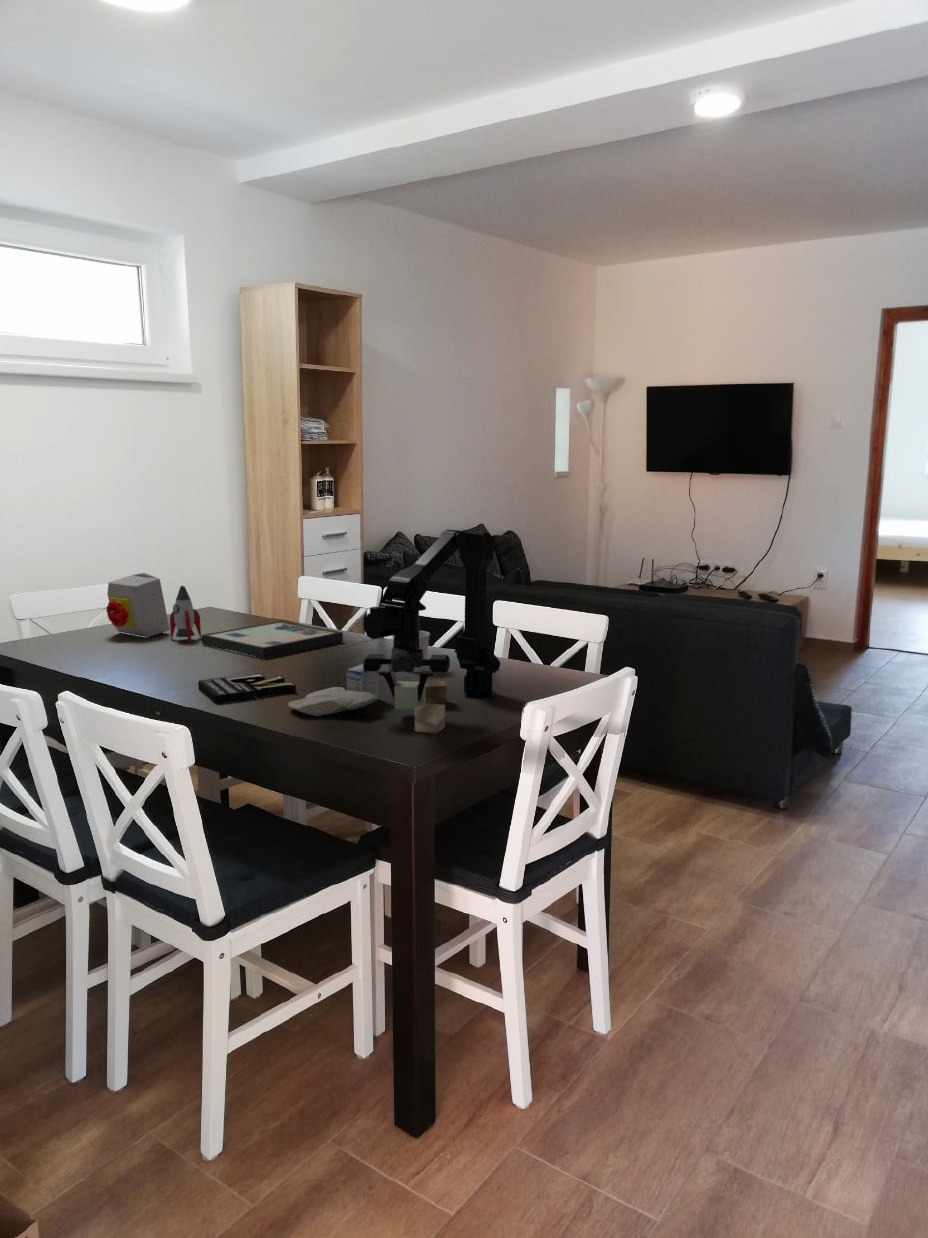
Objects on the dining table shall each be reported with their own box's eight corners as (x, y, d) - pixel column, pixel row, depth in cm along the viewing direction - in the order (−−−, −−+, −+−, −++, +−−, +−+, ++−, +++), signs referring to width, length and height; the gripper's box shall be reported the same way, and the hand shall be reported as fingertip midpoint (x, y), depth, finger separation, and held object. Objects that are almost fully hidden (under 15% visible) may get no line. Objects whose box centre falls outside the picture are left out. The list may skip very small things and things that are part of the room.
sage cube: (419, 703, 213) (419, 681, 212) (417, 709, 208) (416, 687, 207) (398, 702, 213) (397, 681, 212) (394, 709, 208) (394, 687, 207)
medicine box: (364, 697, 227) (363, 662, 225) (380, 699, 225) (379, 664, 223) (346, 705, 220) (345, 669, 218) (362, 708, 218) (362, 671, 216)
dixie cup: (397, 666, 258) (397, 631, 257) (427, 665, 260) (427, 629, 258) (402, 673, 250) (401, 637, 249) (432, 672, 252) (432, 635, 250)
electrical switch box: (103, 642, 302) (90, 583, 296) (142, 628, 313) (130, 571, 307) (131, 648, 293) (118, 587, 287) (170, 633, 305) (159, 574, 299)
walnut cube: (444, 701, 224) (444, 680, 223) (446, 706, 219) (446, 685, 218) (423, 701, 223) (423, 681, 222) (425, 707, 218) (425, 686, 218)
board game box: (342, 632, 290) (263, 648, 267) (343, 644, 291) (263, 661, 268) (280, 621, 310) (201, 635, 287) (280, 632, 310) (202, 647, 288)
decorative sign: (197, 680, 236) (274, 671, 245) (198, 690, 236) (274, 680, 246) (215, 696, 221) (296, 685, 231) (216, 706, 222) (297, 695, 231)
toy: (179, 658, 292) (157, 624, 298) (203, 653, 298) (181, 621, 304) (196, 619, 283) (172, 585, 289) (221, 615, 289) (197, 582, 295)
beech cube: (445, 727, 203) (444, 705, 202) (436, 733, 198) (436, 711, 197) (423, 725, 205) (423, 703, 204) (414, 731, 200) (414, 709, 199)
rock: (329, 730, 203) (382, 709, 213) (325, 709, 202) (379, 690, 212) (275, 717, 218) (327, 699, 228) (271, 698, 217) (324, 680, 227)
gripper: (357, 639, 200) (359, 709, 203) (445, 640, 199) (445, 711, 201) (366, 629, 211) (368, 696, 214) (449, 629, 210) (450, 697, 212)
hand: (407, 700), depth 210 cm, fingers closed on sage cube, 5 cm apart
